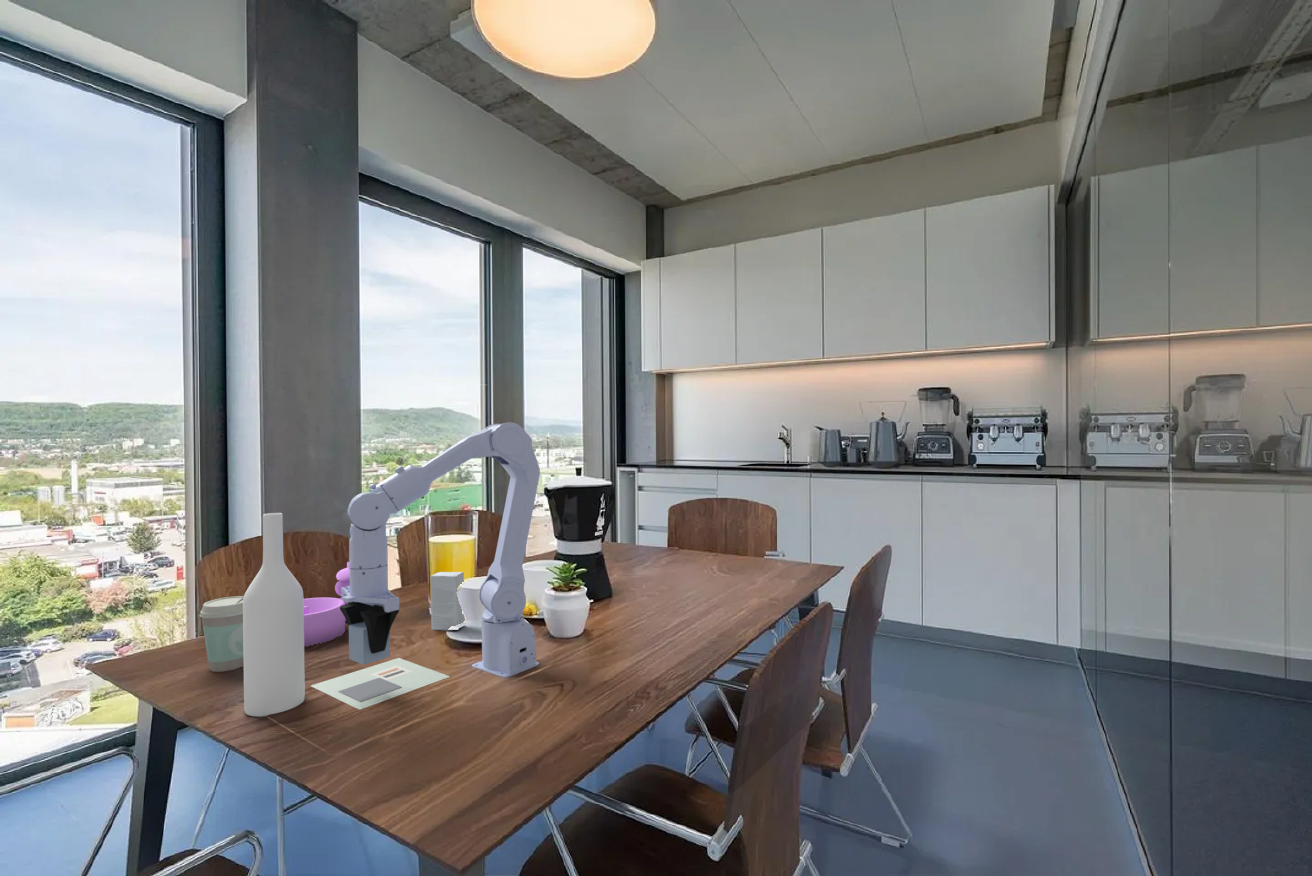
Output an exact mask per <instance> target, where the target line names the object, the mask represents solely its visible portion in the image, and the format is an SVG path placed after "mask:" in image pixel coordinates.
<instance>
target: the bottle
mask: <svg viewBox="0 0 1312 876" xmlns="http://www.w3.org/2000/svg"><path fill="white" fill-rule="evenodd" d="M262 547H263V548H262V564H261V567H260V569H259V571H258V573H257V574H256V575H255V577H254V578H253V580H252V581H251V583H250V584H249V586H248V587H247V589H246V591H245V592H244V595H243V596H244V598H243V654H244V666H243V703H244V704H243V708H244V713H245V714H246V715H247V716H250V717H259V718H260V717H262V718H263V717H268V716H269V715H273V714H278V713H282V712H283V713H284V712H285V711H288V710H291V709H293V708H296V707H298V706H300V705H301V704H302V703H304V701H305V697H306V696H305V695H306V694H305V693H306V690H305V689H306V687H305V685H306V684H305V682H306V681H305V679H306V677H305V647H304V599H305V598H304V591H303V587H302V586H301V584H300V582H299V581H298V580H297V579H296V577H295V576H294V574H293V573H292V572H291V571H290V569H289V568H288V567H287V565H286V563H285V559H284V522H283V513H282V512H269V513H264V514H262Z"/></svg>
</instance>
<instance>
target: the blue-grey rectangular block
mask: <svg viewBox="0 0 1312 876" xmlns="http://www.w3.org/2000/svg"><path fill="white" fill-rule="evenodd" d="M390 633H391V631H390V632H389V636H388V640H387V644H386V648H385V650H384V651H381V652H377V653H374V654H373V653H371V651H370V647H369V640H368V632H367V628H366V625H365V622H360V623H356V624H352V625H348V660H350V661H353V662H356V663H358V664H361V665H367V664H370V663H373V662H378V661H380V660H383V659H386V658H390V657H391V634H390Z"/></svg>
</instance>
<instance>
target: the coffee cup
mask: <svg viewBox="0 0 1312 876" xmlns="http://www.w3.org/2000/svg"><path fill="white" fill-rule="evenodd" d="M243 598H244V595H239V596H236V595H235V596H227V597H220V598H215V599H213V600H212V599H211V600H209V601H206V602H204V603H203V604H202V608H201V610H200V612H199V613H200V614H199V617H200V618H201V622H202V629H203V636H204V642H205V643H204V644H205V649H206V657H207V663H208V668H209V671H211V672H214V673H221V672H222V673H223V672H229V671H234V670H238V669H241V668H244V654H243ZM240 667H241V668H240ZM237 668H238V669H237Z"/></svg>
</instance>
